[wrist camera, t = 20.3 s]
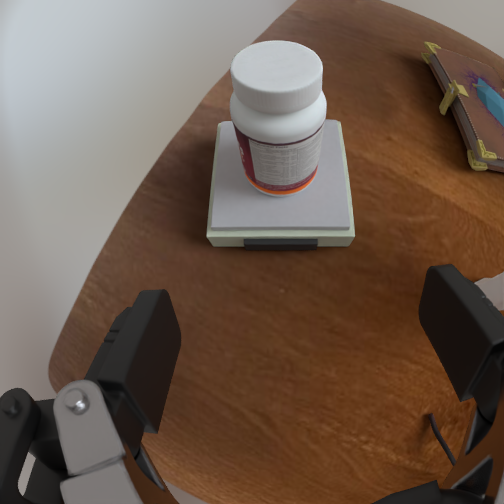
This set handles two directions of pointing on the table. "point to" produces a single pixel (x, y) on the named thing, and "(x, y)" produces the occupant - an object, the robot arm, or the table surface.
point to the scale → (280, 201)
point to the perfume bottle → (493, 289)
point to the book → (472, 104)
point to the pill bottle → (278, 115)
